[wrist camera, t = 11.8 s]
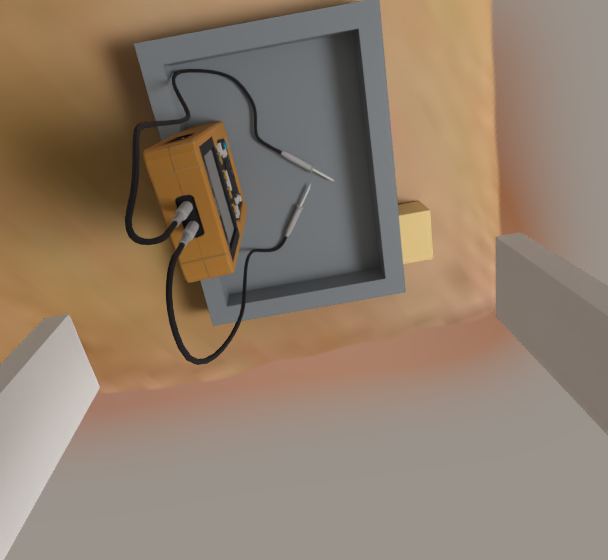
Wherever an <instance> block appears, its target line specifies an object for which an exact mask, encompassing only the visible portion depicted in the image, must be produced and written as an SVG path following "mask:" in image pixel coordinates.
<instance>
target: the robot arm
mask: <svg viewBox="0 0 608 560" xmlns="http://www.w3.org/2000/svg"><path fill="white" fill-rule="evenodd" d="M496 317H497V318H498V319H499V320H500V321H501V323H502V324H504V326H505V327H506V328H507V329H508V330H509V331H510V332H511V333H512V334H513V335H514V336H515V337H516V338H517V339H518V341H519V342H520V343H521V344H522V345H523V346H524V347H525V348H526V349H527V350H528V351H529V352H530V353H531V354H532V355H533V356H534V357H535V358H536V359H537V360H538V362H539V363H540V364H541V365H542V366H543V367H544V368H545V369H546V370H547V371H548V372H549V373H550V374H551V375H552V376H553V378H554V379H555V380H556V381H557V382H558V383H559V384H560V385H561V386H562V387H563V388H564V389H565V390H566V391H567V392H568V393H569V394H570V396H571V397H572V398H573V399H574V400H575V401H576V402H577V403H578V404H579V405H580V406H581V407H582V408H583V409H584V410H585V411H586V412H587V414H588V415H589V416H590V417H591V418H592V419H593V420H594V421H595V422H596V423H597V424H598V425H599V426H600V427H601V428H602V429H603V430H604V432H605V433H606V434H607V435H608V286H607V285H606V284H604V283H602V282H601V281H599V280H597V279H596V278H594V277H593V276H591V275H589V274H588V273H586V272H584V271H583V270H581V269H580V268H578V267H576V266H575V265H573V264H571V263H570V262H568V261H567V260H565V259H563V258H562V257H560V256H558V255H557V254H555V253H554V252H552V251H550V250H549V249H547V248H545V247H544V246H542V245H540V244H539V243H537V242H536V241H534V240H532V239H531V238H529V237H527V236H526V235H524V234H523V233H515V234H509V235H504V236H498V237H496ZM99 388H100V387H99V384H98V382H97V380H96V377H95V375H94V372H93V370H92V368H91V365H90V363H89V361H88V358H87V356H86V353H85V351H84V349H83V346H82V344H81V342H80V339H79V337H78V335H77V332H76V330H75V327H74V325H73V323H72V320H71V318H70V316H69V314H66V315H61V316H55V317H50V318H44V319H43V320H42V321H41V322H40V323H39V324H38V326H37V327H36V328H35V329H34V330H33V331H32V332H31V333H30V334H29V335H28V336H27V337H26V338H25V339H24V340H23V341H22V342H21V343H20V344H19V345H18V347H17V348H16V349H15V350H14V351H13V352H12V353H11V354H10V355H9V356H8V357H7V358H6V359H5V360H4V361H3V362H2V363H1V364H0V560H4V558H5V556H6V555H7V553H8V551H9V549H10V548H11V546H12V544H13V542H14V540H15V538H16V537H17V535H18V533H19V531H20V530H21V528H22V526H23V524H24V523H25V521H26V519H27V517H28V515H29V514H30V512H31V510H32V508H33V506H34V504H35V503H36V501H37V499H38V497H39V496H40V494H41V492H42V490H43V488H44V487H45V485H46V483H47V481H48V480H49V478H50V476H51V474H52V472H53V471H54V469H55V467H56V465H57V463H58V461H59V460H60V458H61V456H62V454H63V452H64V450H65V449H66V447H67V445H68V444H69V442H70V440H71V438H72V437H73V435H74V433H75V431H76V429H77V428H78V426H79V424H80V422H81V420H82V419H83V417H84V415H85V413H86V411H87V410H88V408H89V406H90V404H91V402H92V401H93V399H94V397H95V395H96V394H97V392H98V390H99Z"/></svg>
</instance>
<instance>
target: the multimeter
mask: <svg viewBox="0 0 608 560" xmlns="http://www.w3.org/2000/svg"><path fill="white" fill-rule="evenodd" d="M181 73H211V74H217V75H221V76H224V77H227V78H229V79H231V80H232V81H234V82H235V83H236V84H237V85H239V87H240V88H241V89H242V90H243V91H244V93H245V94H246V96H247V97H248V99H249V100H250V102H251V104H252V107H253V112H254V133H255V136H256V138H257V140H258V141H259V142H260V143H262V144H263V145H265V146H267V147H268V148H270V149H272V150H274V151H276V152H278V153H280V154H281V155H282V156H283V157H284V158H286V159H288V160H289V161H291V162H293V163H295V164H297V165H299V166H300V167H302V168H304V169H306V170H308V171H309V172H310V173H311V172H312V171H314V172H316V173H318V174H319V175H321V176H323V177H325V178H327V179H329V180H331V181H334V180H333V179H332V178H330V177H328V176H327V175H325V174H323V173H321V172H319V171H317V170H315V169H314V165H310V164H308V163H307V162H305V161H303V160H301V159H299V158H297V157H295V156H294V155H292V154H290V153H288V152H285V151H281V150H279V149H277V148H275V147H273V146H271V145H269V144H268V143H266V142H264V141H263V140H262V139H260V137H259V136H258V132H257V111H256V106H255V103H254V101H253V99H252V97H251V96H250V94H249V93H248V92H247V90H246V89H245V87H244V86H243V85H242V84H241V83H240V82H239V81H238V80H237V79H235V78H234V77H232V76H230V75H228V74H226V73H223V72H219V71H214V70H205V69H185V70H179V71H177V72H175V73H174V74H173V76H172V85H173V89H174V91H175V93H176V95H177V97H178V99H179V101H180V103H181V104H182V106H183V108H184V111H185V113H186V116H185V117H184V118H181V119H176V120H166V121H151V122H144V123H140V124H138V125H136V127H135V129H134V134H133V165H132V183H131V190H130V196H129V201H128V205H127V210H126V216H125V225H126V231H127V233H128V236H129V238H131V239H132V240H133V241H134V242H136V243H138V244H142V245H152V244H158V243H161V242H163V241H165V240H166V239H167V238H169V236H170V239H171V241H172V244H173V247H174V250H175V252H174V254H173V256H172V257H171V260H170V263H169V267H168V272H167V280H166V303H167V312H168V317H169V323H170V326H171V330H172V333H173V336H174V339H175V341H176V344H177V346H178V349H179V350H180V352H181V353H182V355H183V356H184V357H185V359H186V360H187V361H189V362H192V363H194V364H197V365H200V364H207V363H209V362H210V361H212V360H214V359H215V358H217V357H218V356H219V355H220V354H221V353H222V352H223V351H224V349H225V348H226V347H227V345H228V344H229V343H230V341H231V340H232V338H233V337H234V335H235V333H236V331H237V329H238V327H239V325H240V323H241V320H242V317H243V314H244V310H245V302H246V286H247V269H248V262H249V259H250V256H251V254H253V253H254V252H273V251H276V250H278V249H280V248H281V247H282V246H283V245H284V243H285V241H286V239H287V237H288V236H289V235H290V234H291V232H292V230H293V228H294V226H295V224H296V222H297V219H298V217H299V215H300V213H301V211H302V209H303V207H302V204H303V202H304V200H305V198H306V196H307V194H308V191H309V189H310V185H311V184H310V185H309V186H308V188H307V190H306V192H305V194H304V196H303V199H302V201H301V203H300V205H296V209H295V212H294V214H293V216H292V218H291V220H290V222H289V225H288V227H287V229H286V232H285V237H284V239H283V241H282V242H281V244H280V245H279V246H278V247H276V248H273V249H253V250H252V251H250V252H249V254H248V255H247V258H246V261H245V266H244V275H243V291H242V303H241V309H240V314H239V317H238V319H237V322H236V324H235V326H234V328H233V330H232V332H231V334H230V335H229V337H228V338H227V340H226V341H225V342H224V344H223V345H222V346H221V347H220V348H219V349H218V350H217V351H216V352H215V353H214V354H212V355H210V356H208V357H207V358H204V359H197V358H195V357H193V356H191V355H190V354H189V352H188V351H187V349H186V348H185V346H184V345H183V342H182V340H181V337H180V335H179V332H178V328H177V325H176V321H175V316H174V310H173V301H172V282H173V273H174V268H175V264H176V261H177V259H178V262H179V266H180V269H181V271H182V274H183V277H184V278H185V280H186V281H187V282H188V283H191V282H196V281H201V280H205V279H210V278H214V277H219V276H223V275H228V274H233V272H234V270H235V266H236V262H237V257H238V253H239V249H240V244H241V240H242V235H243V230H244V226H245V221H246V216H247V208H246V204H245V200H244V198H243V194H242V190H241V186H240V183H239V179H238V175H237V171H236V168H235V164H234V160H233V157H232V153H231V149H230V145H229V142H228V138H227V133H226V130H225V126H224V124H223V122H222V121H216V122H211V123H206V124H202V125H198V126H194V127H190V128H188V129H186V130H184V131H182V132H179V133H177V134H175V135H172V136H170V137H169V138H167V139H165V140H163V141H161V142H159V143H157V144H155V145H153V146H151V147H149V148H147V149H145V150H144V151H143V154H142V155H143V160H144V164H145V167H146V170H147V173H148V176H149V178H150V181H151V183H152V186H153V189H154V192H155V195H156V198H157V201H158V204H159V207H160V210H161V212H162V215H163V218H164V221H165V224H166V227H167V230H166V231H165V233H163V234H162V235H161V236H159V237H156V238H153V239H144V238H141V237H139V236H138V235H136V234H135V233H134V230H133V228H132V215H133V209H134V204H135V200H136V196H137V189H138V180H139V136H140V132H141V130H142V129H144V128H148V127H157V126H168V125H176V124H181V123H184V122H187V121H189V119H190V116H191V115H190V111H189V109H188V106H187V105H186V103H185V101H184V99H183V97H182V96H181V94H180V92H179V90H178V88H177V85H176V81H175V79H176V77H177V76H178V75H179V74H181ZM334 182H335V181H334Z"/></svg>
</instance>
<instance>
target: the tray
mask: <svg viewBox="0 0 608 560" xmlns="http://www.w3.org/2000/svg"><path fill="white" fill-rule="evenodd" d="M134 46H135V50H136V54H137V57H138V61H139V64H140V68H141V71H142V75H143V78H144V82H145V86H146V89H147V93H148V96H149V100H150V103H151V107H152V110H153V114H154V118H155V121H166V120H176V119H181V118H184V117H185V116H186V113H185V111H184V108H183V106H182V104H181V103H180V101H179V99H178V97H177V95H176V93H175V91H174V89H173V85H172V76H173V74H174V73H175V72H177V71H179V70H185V69H205V70H214V71H219V72H223V73H226V74H228V75H230V76H232V77H234V78H235V79H237V80H238V81H239V82H240V83H241V84H242V85H243V86H244V87H245V89H246V90H247V92H248V93H249V94H250V96H251V97H252V99H253V101H254V103H255V106H256V111H257V132H258V136H259V137H260V139H262V140H263V141H264V142H266V143H268V144H269V145H271V146H273V147H275V148H277V149H279V150H281V151H285V152H288V153H290V154H292V155H294V156H295V157H297V158H299V159H301V160H303V161H305V162H307V163H308V164H310V165H314V169H315V170H317V171H319V172H321V173H323V174H325V175H327V176H328V177H330V178H332V179H333V180H334V181H335V182H334V181H331V180H329V179H327V178H325V177H323V176H321V175H319V174H318V173H316V172H314V171H312V172H311V173H310V172H309V171H308V170H306V169H304V168H302V167H300V166H299V165H297V164H295V163H293V162H291V161H289V160H288V159H286V158H284V157H283V156H282V155H281V154H280V153H278V152H276V151H274V150H272V149H270V148H268V147H267V146H265V145H263V144H262V143H260V142H259V141H258V140H257V138H256V136H255V133H254V112H253V107H252V104H251V102H250V100H249V99H248V97H247V96H246V94H245V93H244V91H243V90H242V89H241V88H240V87H239V85H237V84H236V83H235V82H234V81H232V80H231V79H229V78H227V77H224V76H221V75H217V74H211V73H181V74H179V75H178V76H177V77H176V79H175V81H176V85H177V88H178V90H179V92H180V94H181V96H182V97H183V99H184V101H185V103H186V105H187V106H188V109H189V111H190V115H191V116H190V119H189V121H187V122H184V123H181V124H176V125H168V126H157V128H158V132H159V135H160V139H161V141H163V140H165V139H167V138H169V137H170V136H172V135H175V134H177V133H179V132H182V131H184V130H186V129H188V128H190V127H194V126H198V125H202V124H206V123H211V122H216V121H222V122H223V124H224V126H225V130H226V133H227V138H228V142H229V145H230V149H231V153H232V157H233V160H234V164H235V168H236V171H237V175H238V179H239V183H240V186H241V190H242V194H243V198H244V200H245V204H246V208H247V216H246V221H245V226H244V230H243V235H242V240H241V244H240V249H239V253H238V257H237V262H236V266H235V270H234V272H233V274H228V275H223V276H219V277H214V278H210V279H205V280H201V285H202V288H203V292H204V296H205V299H206V303H207V306H208V310H209V313H210V317H211V321H212V324H213V326H216V325H221V324H227V323H233V322H237V319H238V317H239V314H240V309H241V303H242V291H243V275H244V266H245V261H246V258H247V255H248V254H249V252H250V251H252V250H253V249H273V248H276V247H278V246H279V245H280V244H281V242H282V241H283V239H284V237H285V232H286V229H287V227H288V225H289V222H290V220H291V218H292V216H293V214H294V212H295V209H296V205H300V203H301V201H302V199H303V196H304V194H305V192H306V190H307V188H308V186H309V185H310V184H311V185H310V189H309V191H308V194H307V196H306V198H305V200H304V202H303V204H302V207H303V209H302V211H301V213H300V215H299V217H298V219H297V222H296V224H295V226H294V228H293V230H292V232H291V234H290V235H289V236H288V237H287V239H286V241H285V243H284V245H283V246H282V247H281V248H280V249H278V250H276V251H273V252H254V253H253V254H251V256H250V259H249V262H248V269H247V286H246V302H245V310H244V314H243V317H242V320H241V321H244V320H250V319H256V318H261V317H267V316H273V315H278V314H284V313H290V312H296V311H301V310H307V309H313V308H318V307H324V306H330V305H335V304H341V303H347V302H352V301H358V300H364V299H370V298H375V297H381V296H387V295H392V294H398V293H404V292H406V290H405V279H404V268H403V264H406V263H412V262H417V261H423V260H429V259H433V250H432V234H431V218H430V210H429V209H428V208H427V207H426V206H424V205H423V204H422V203H421V202H420V201H416V202H410V203H404V204H399V205H398V201H397V190H396V179H395V168H394V157H393V146H392V135H391V124H390V113H389V102H388V91H387V80H386V69H385V58H384V47H383V35H382V24H381V13H380V2H379V0H365V1H360V2H354V3H349V4H343V5H338V6H333V7H327V8H322V9H317V10H311V11H306V12H301V13H295V14H290V15H284V16H279V17H274V18H268V19H263V20H258V21H252V22H247V23H242V24H236V25H231V26H225V27H220V28H215V29H209V30H204V31H199V32H193V33H188V34H183V35H177V36H172V37H167V38H161V39H156V40H150V41H145V42H140V43H134Z"/></svg>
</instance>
